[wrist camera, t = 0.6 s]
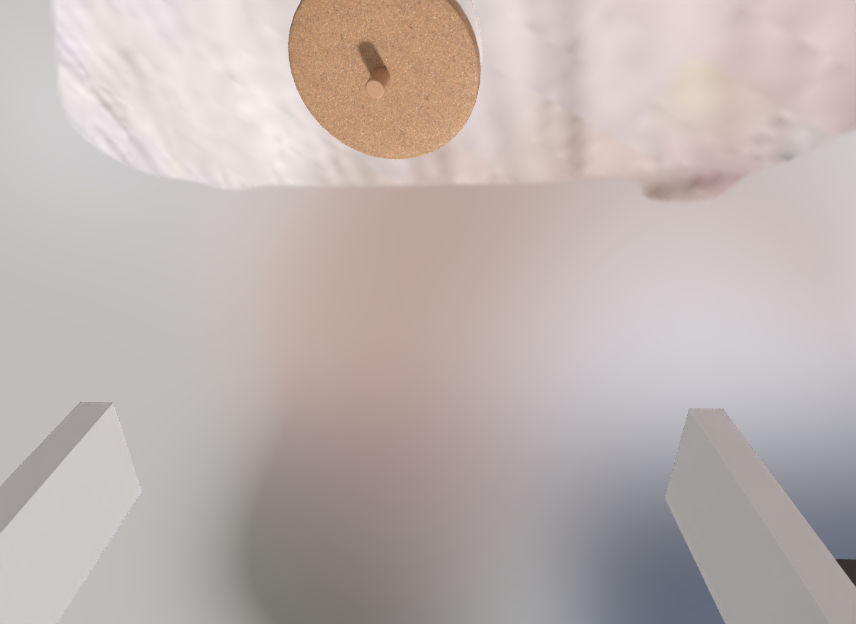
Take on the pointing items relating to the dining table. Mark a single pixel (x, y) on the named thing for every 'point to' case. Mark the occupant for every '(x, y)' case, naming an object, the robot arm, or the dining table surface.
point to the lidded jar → (387, 71)
